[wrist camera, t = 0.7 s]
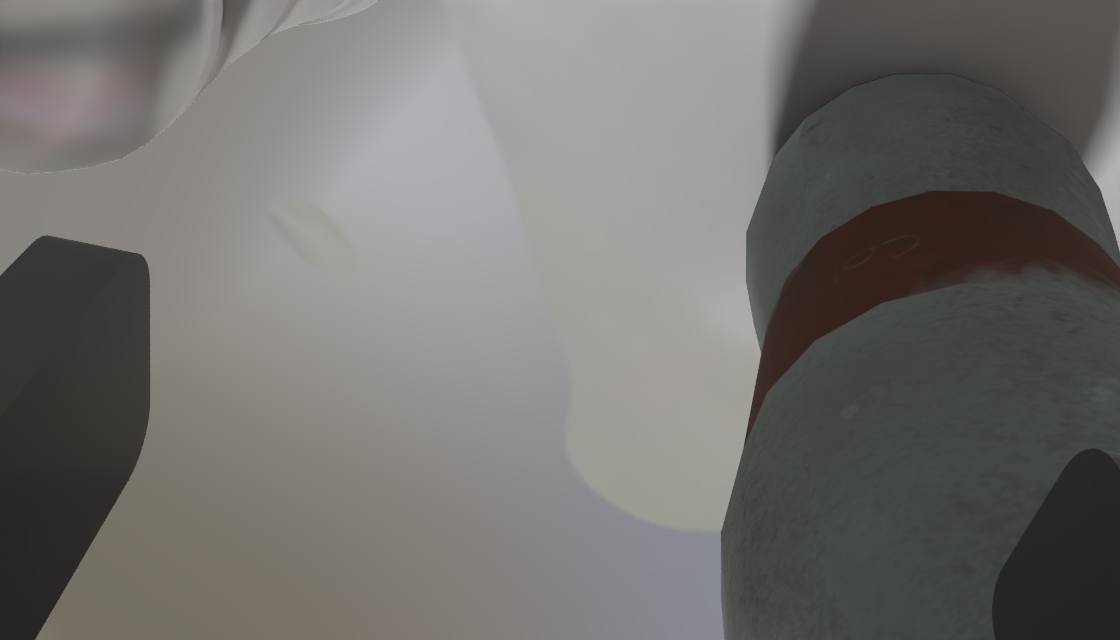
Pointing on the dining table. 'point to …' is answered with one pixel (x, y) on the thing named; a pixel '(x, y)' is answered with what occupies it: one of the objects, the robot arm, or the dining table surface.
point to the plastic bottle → (121, 69)
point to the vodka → (914, 361)
